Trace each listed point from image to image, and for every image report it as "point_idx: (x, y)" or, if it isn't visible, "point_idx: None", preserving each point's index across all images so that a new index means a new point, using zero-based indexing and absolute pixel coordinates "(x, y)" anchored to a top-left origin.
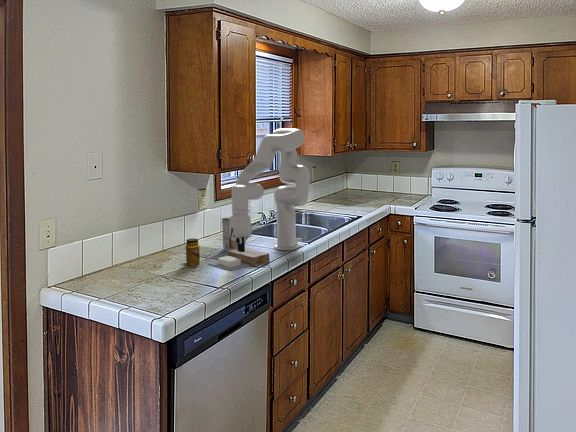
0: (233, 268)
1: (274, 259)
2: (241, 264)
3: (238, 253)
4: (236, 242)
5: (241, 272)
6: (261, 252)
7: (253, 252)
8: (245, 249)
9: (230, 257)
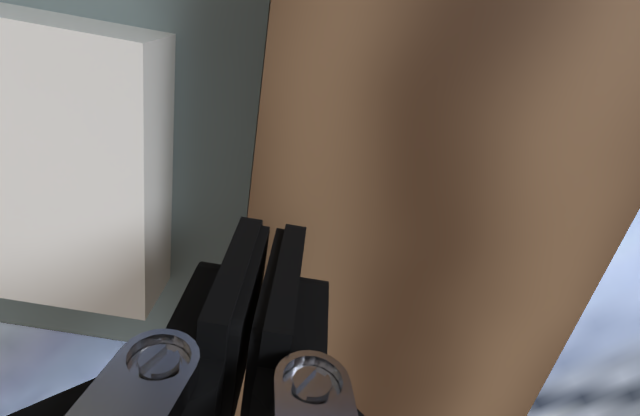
0: (10, 305)
1: (574, 391)
2: (177, 280)
3: (261, 198)
4: (128, 346)
5: (26, 393)
6: (491, 411)
7: (442, 337)
8: (582, 116)
9: (99, 154)
